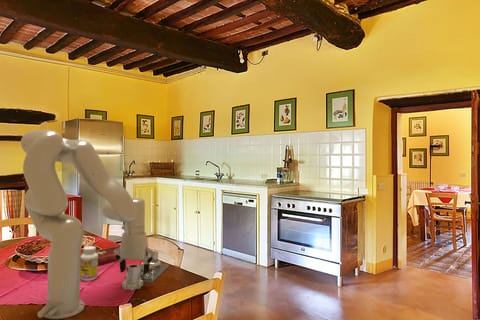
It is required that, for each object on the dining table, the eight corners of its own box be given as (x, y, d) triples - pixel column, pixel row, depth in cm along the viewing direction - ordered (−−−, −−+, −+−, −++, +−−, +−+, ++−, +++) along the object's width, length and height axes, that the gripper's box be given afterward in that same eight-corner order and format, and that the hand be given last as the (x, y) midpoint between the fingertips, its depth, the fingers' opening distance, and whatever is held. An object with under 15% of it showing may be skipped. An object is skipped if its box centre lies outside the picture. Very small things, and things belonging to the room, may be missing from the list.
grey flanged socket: (137, 291, 129) (138, 270, 129) (118, 289, 130) (119, 268, 130) (145, 283, 136) (146, 263, 136) (128, 281, 137) (128, 262, 137)
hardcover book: (134, 257, 169) (134, 249, 169) (94, 267, 153) (94, 258, 153) (121, 252, 177) (121, 244, 177) (81, 261, 161) (81, 252, 160)
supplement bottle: (76, 279, 138) (77, 248, 138) (90, 274, 144) (90, 244, 144) (87, 282, 135) (88, 250, 135) (100, 277, 141) (101, 247, 140)
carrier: (152, 282, 137) (152, 264, 137) (124, 280, 139) (125, 262, 139) (168, 267, 156) (169, 251, 156) (143, 265, 158) (144, 249, 157)
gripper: (109, 230, 130) (109, 274, 131) (151, 233, 128) (151, 277, 129) (118, 226, 138) (118, 267, 138) (159, 228, 135) (159, 270, 136)
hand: (134, 272), depth 133 cm, fingers open, 9 cm apart
